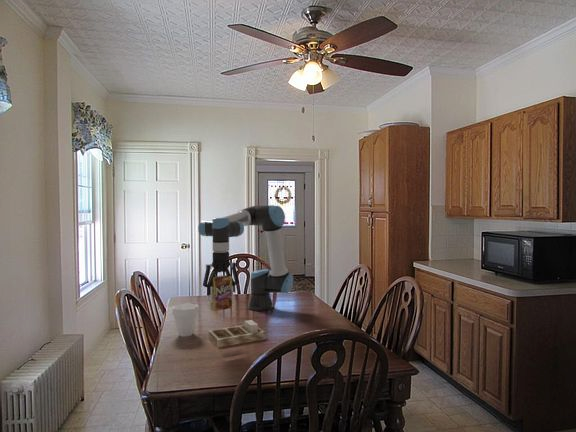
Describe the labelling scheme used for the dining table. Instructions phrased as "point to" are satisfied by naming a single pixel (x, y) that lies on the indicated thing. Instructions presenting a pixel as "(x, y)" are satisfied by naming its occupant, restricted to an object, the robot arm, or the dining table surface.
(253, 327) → the white rectangular carton
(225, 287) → the candy box
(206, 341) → the dining table surface
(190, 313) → the cup
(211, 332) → the rack
